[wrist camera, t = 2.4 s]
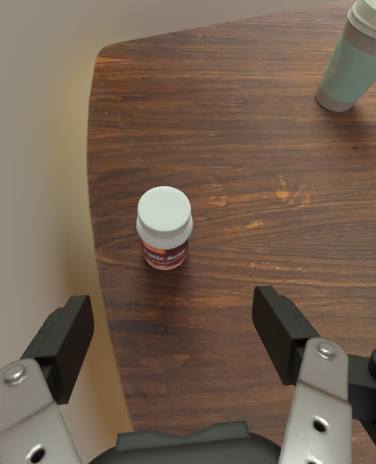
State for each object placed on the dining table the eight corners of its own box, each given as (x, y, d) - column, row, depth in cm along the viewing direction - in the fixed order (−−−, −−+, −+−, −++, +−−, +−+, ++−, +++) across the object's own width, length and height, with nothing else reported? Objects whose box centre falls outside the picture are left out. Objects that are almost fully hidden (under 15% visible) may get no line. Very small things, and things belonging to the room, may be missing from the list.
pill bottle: (142, 272, 25) (131, 238, 17) (142, 229, 27) (132, 182, 19) (190, 269, 25) (198, 235, 18) (186, 227, 27) (193, 180, 20)
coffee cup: (328, 75, 41) (384, -21, 31) (371, 105, 39) (448, 10, 28) (295, 93, 39) (343, -6, 28) (338, 126, 36) (410, 31, 25)
